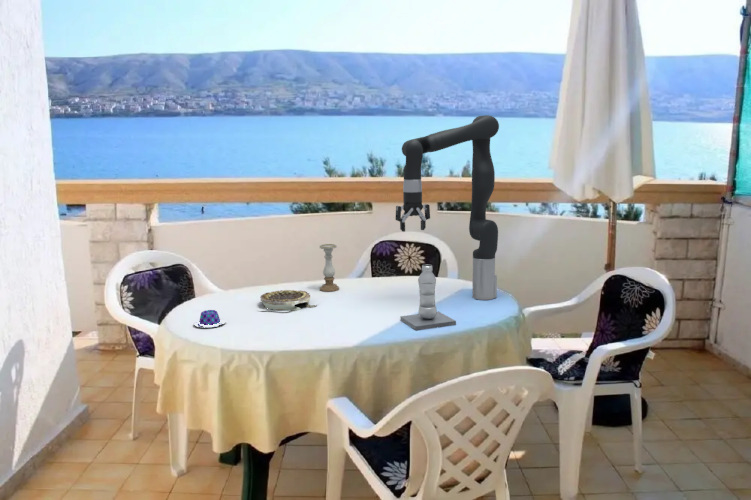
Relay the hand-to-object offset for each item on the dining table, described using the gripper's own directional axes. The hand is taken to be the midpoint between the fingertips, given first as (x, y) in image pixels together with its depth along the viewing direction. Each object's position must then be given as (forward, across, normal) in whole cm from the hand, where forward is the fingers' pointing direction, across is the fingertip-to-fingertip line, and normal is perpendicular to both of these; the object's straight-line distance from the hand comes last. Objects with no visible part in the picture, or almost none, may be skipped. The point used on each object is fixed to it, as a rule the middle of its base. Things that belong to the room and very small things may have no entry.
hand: (413, 230), depth 262 cm
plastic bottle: (+29, -7, -28) cm, 41 cm away
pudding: (+30, -82, +4) cm, 87 cm away
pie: (+31, -49, +21) cm, 61 cm away
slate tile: (+30, -7, -28) cm, 42 cm away
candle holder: (+30, -25, +37) cm, 54 cm away
